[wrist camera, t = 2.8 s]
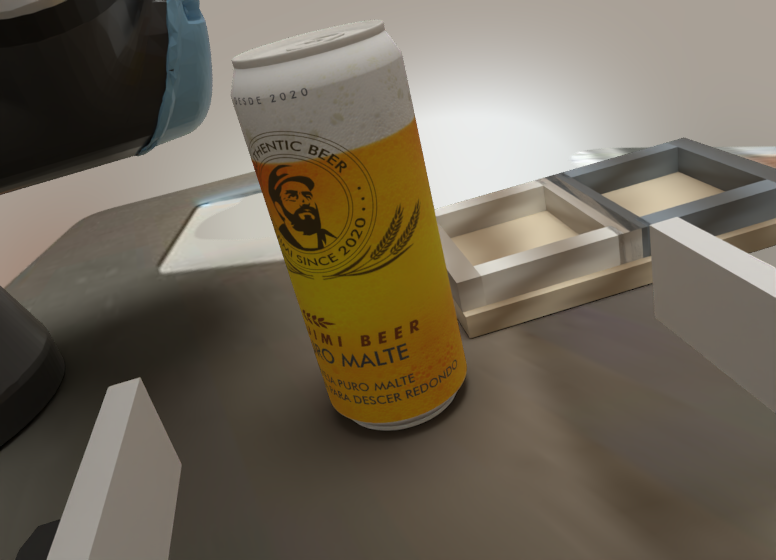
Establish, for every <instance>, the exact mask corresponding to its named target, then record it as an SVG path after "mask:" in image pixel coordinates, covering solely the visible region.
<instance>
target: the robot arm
mask: <svg viewBox="0 0 776 560" xmlns="http://www.w3.org/2000/svg"><path fill="white" fill-rule="evenodd" d="M211 96H212V63H211V52H210V44H209V38H208V31H207V26H206V22H205V20H204V17H203V15H202V13H201V11H200V9H199V0H0V195H2V194H5V193H9V192H12V191H15V190H18V189H22V188H26V187H29V186H32V185H36V184H39V183H43V182H46V181H50V180H53V179H56V178H60V177H63V176H67V175H70V174H73V173H77V172H80V171H84V170H87V169H91V168H94V167H97V166H101V165H104V164H107V163H111V162H114V161H118V160H121V159H125V158H128V157H131V156H140V155H144V154H146V153H148V152H149V151H151V150H152V149H153V148H154V147H155V146H158V145H160V144H163V143H166V142H168V141H171V140H174V139H176V138H179V137H182V136H184V135H187V134H189V133H191V132H192V131H194V130H195V129H196V128H197V127H198V126H199V125H200V124H201V123H202V122H203V120H204V119H205V117H206V115H207V113H208V110H209V106H210V102H211ZM649 226H650V243H651V261H652V278H653V295H654V312H655V318H656V319H657V320H659V321H660V322H661V323H662V324H664V325H665V326H666V327H668V328H669V329H670V330H671V331H673V332H674V333H675V334H676V335H678V336H679V337H680V338H681V339H683V340H684V341H685V342H686V343H688V344H689V345H690V346H691V347H693V348H694V349H695V350H696V351H698V352H699V353H700V354H701V355H703V356H704V357H705V358H707V359H708V360H709V361H710V362H712V363H713V364H714V365H715V366H717V367H718V368H719V369H720V370H722V371H723V372H724V373H725V374H727V375H728V376H729V377H730V378H732V379H733V380H734V381H735V382H737V383H738V384H739V385H740V386H742V387H743V388H744V389H745V390H747V391H748V392H749V393H751V394H752V395H753V396H754V397H756V398H757V399H758V400H759V401H761V402H762V403H763V404H764V405H766V406H767V407H768V408H769V409H771V410H772V411H773V412H774V413H776V268H775V267H773V266H771V265H769V264H767V263H765V262H763V261H761V260H760V259H757V258H756V257H754V256H752V255H750V254H748V253H746V252H744V251H742V250H740V249H738V248H737V247H735V246H733V245H731V244H729V243H727V242H725V241H723V240H721V239H719V238H717V237H715V236H713V235H711V234H710V233H708V232H706V231H704V230H702V229H700V228H698V227H696V226H694V225H692V224H690V223H688V222H686V221H684V220H683V219H681V218H679V217H675V218H671V219H668V220H665V221H661V222H658V223H655V224H651V225H649ZM64 372H65V363H64V359H63V357H62V355H61V354H60V352H59V350H58V348H57V346H56V344H55V342H54V340H53V339H52V337H51V335H50V333H49V331H48V330H47V329H46V328H45V326H44V325H43V324H42V323H41V322H40V321H39V320H37V319H36V318H35V317H34V316H33V315H32V314H31V313H30V312H29V311H28V310H27V309H26V308H24V307H23V306H22V305H21V304H20V303H19V302H18V301H17V300H16V299H14V298H13V297H12V296H11V295H10V294H9V293H8V292H7V291H6V290H5V289H3V288H2V287H1V286H0V446H2V445H3V444H4V443H5V442H7V441H8V440H9V439H11V438H12V437H13V436H14V435H15V434H17V433H18V432H19V431H20V430H21V429H22V428H24V427H25V426H26V425H27V424H28V423H29V422H30V421H31V420H32V419H33V418H34V417H35V416H36V415H37V414H38V413H39V412H40V411H41V410H42V409H43V408H44V407H45V405H46V404H47V403H48V402H49V401H50V399H51V398H52V396H53V395H54V394H55V392H56V391H57V389H58V387H59V385H60V383H61V381H62V379H63V376H64ZM181 466H182V464H181V462H180V460H179V458H178V456H177V454H176V452H175V450H174V447H173V445H172V443H171V441H170V439H169V437H168V435H167V433H166V431H165V428H164V426H163V424H162V422H161V420H160V418H159V416H158V414H157V412H156V409H155V407H154V405H153V403H152V401H151V399H150V397H149V395H148V393H147V391H146V388H145V386H144V384H143V382H142V380H141V378H140V377H139V378H136V379H133V380H129V381H126V382H123V383H119V384H116V385H113V386H109V387H108V389H107V392H106V395H105V398H104V400H103V403H102V406H101V409H100V412H99V414H98V417H97V420H96V423H95V426H94V428H93V431H92V434H91V437H90V440H89V442H88V445H87V448H86V451H85V454H84V456H83V459H82V462H81V465H80V467H79V470H78V473H77V476H76V479H75V481H74V484H73V487H72V490H71V493H70V495H69V498H68V501H67V504H66V507H65V509H64V512H63V515H62V518H61V519H60V520H56V521H53V522H50V523H47V524H44V525H40V526H38V527H37V529H36V530H35V531H34V532H33V533H32V535H31V536H30V537H29V538H28V540H27V541H26V542H25V543H24V545H23V546H22V547H21V548H20V550H19V552H18V554H17V557H16V559H15V560H168V557H169V550H170V543H171V536H172V529H173V522H174V515H175V508H176V501H177V494H178V487H179V480H180V473H181Z"/></svg>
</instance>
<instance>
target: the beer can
mask: <svg viewBox="0 0 776 560" xmlns="http://www.w3.org/2000/svg"><path fill="white" fill-rule="evenodd" d="M232 63H233V66H234V73H233V82H232V90H231V98H232V101H233V104H234V107H235V111H236V114H237V116H238V120H239V123H240V126H241V129H242V132H243V135H244V138H245V141H246V144H247V147H248V150H249V153H250V156H251V160H252V162H253V166H254V169H255V172H256V175H257V178H258V181H259V184H260V187H261V190H262V193H263V196H264V199H265V202H266V205H267V208H268V211H269V215H270V217H271V221H272V224H273V226H274V230H275V233H276V236H277V239H278V242H279V245H280V248H281V251H282V254H283V257H284V260H285V263H286V266H287V270H288V273H289V276H290V279H291V282H292V285H293V288H294V291H295V294H296V297H297V300H298V303H299V306H300V309H301V312H302V315H303V318H304V321H305V324H306V328H307V331H308V334H309V337H310V340H311V343H312V346H313V349H314V352H315V355H316V358H317V361H318V364H319V367H320V370H321V373H322V376H323V379H324V383H325V386H326V389H327V392H328V395H329V398H330V401H331V403H332V405H333V407H334V408H335V409H336V410H337V411H338V412H339V413H340V414H342V415H344V416H345V417H347V418H350V419H352V420H353V421H355V422H356V423H358V424H359V425H361V426H364V427H366V428H370V429H375V430H400V429H405V428H409V427H413V426H416V425H419V424H421V423H424V422H426V421H428V420H430V419H432V418H434V417H435V416H437V415H438V414H440V413H441V412H442V411H443V410H444V409H446V408H447V406H448V405H449V404H450V403H451V402H452V400H453V399H454V397H455V395H456V392H457V391H458V389H459V388H460V386H461V385H462V383H463V381H464V379H465V376H466V372H467V364H466V360H465V355H464V350H463V345H462V340H461V335H460V331H459V326H458V321H457V316H456V311H455V307H454V302H453V297H452V292H451V287H450V282H449V278H448V273H447V268H446V263H445V258H444V254H443V249H442V244H441V239H440V234H439V230H438V225H437V220H436V215H435V210H434V206H433V201H432V196H431V191H430V187H429V182H428V177H427V172H426V167H425V162H424V157H423V152H422V148H421V144H420V138H419V134H418V129H417V124H416V119H415V114H414V109H413V104H412V100H411V95H410V90H409V85H408V80H407V75H406V71H405V66H404V61H403V56H402V52H401V51H400V49H399V48H398V47H397V45H396V44H395V42H394V41H393V40H392V38H391V37H390V36H389V34H388V33H387V31H386V30H385V28H384V23H383V21H382V20H369V21H361V22H356V23H350V24H345V25H340V26H335V27H331V28H326V29H322V30H318V31H313V32H310V33H306V34H302V35H298V36H294V37H291V38H287V39H283V40H280V41H277V42H273V43H270V44H267V45H263V46H261V47H258V48H255V49H252V50H249V51H246V52H244V53H242V54H239V55H237V56H235V57H234V58H233V59H232Z"/></svg>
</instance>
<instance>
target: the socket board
mask: <svg viewBox="0 0 776 560" xmlns="http://www.w3.org/2000/svg"><path fill="white" fill-rule="evenodd" d="M434 210H435V215H436V220H437V225H438V230H439V234H440V239H441V244H442V249H443V254H444V258H445V263H446V268H447V273H448V278H449V282H450V287H451V292H452V297H453V302H454V307H455V311H456V316H457V319H458V320H459V322H460V323H461V325H462V327H463V328H464V330H465V331H466V333H467V334H468V336H469V338H473V337H477V336H480V335H483V334H487V333H490V332H493V331H496V330H500V329H503V328H506V327H509V326H513V325H516V324H519V323H523V322H526V321H529V320H532V319H536V318H539V317H542V316H545V315H549V314H552V313H555V312H559V311H562V310H565V309H568V308H572V307H575V306H578V305H581V304H585V303H588V302H591V301H595V300H598V299H601V298H604V297H608V296H611V295H614V294H618V293H621V292H624V291H627V290H631V289H634V288H637V287H640V286H644V285H647V284H650V283H653V278H652V261H651V243H650V226H649V225H651V224H655V223H658V222H661V221H665V220H668V219H671V218H675V217H679V218H681V219H683V220H684V221H686V222H688V223H690V224H692V225H694V226H696V227H698V228H700V229H702V230H704V231H706V232H708V233H710V234H711V235H713V236H715V237H717V238H719V239H721V240H723V241H725V242H727V243H729V244H731V245H733V246H735V247H737V248H738V249H740V250H742V251H744V252H746V253H748V254H749V253H752V252H755V251H758V250H762V249H765V248H768V247H771V246H775V245H776V169H775V168H772V167H769V166H766V165H763V164H760V163H757V162H755V161H752V160H749V159H746V158H743V157H740V156H737V155H734V154H731V153H728V152H725V151H722V150H719V149H716V148H713V147H710V146H707V145H704V144H701V143H698V142H696V141H693V140H690V139H687V138H681V139H678V140H674V141H671V142H667V143H664V144H660V145H657V146H654V147H650V148H646V149H643V150H639V151H636V152H632V153H629V154H625V155H622V156H618V157H615V158H611V159H608V160H604V161H601V162H597V163H594V164H590V165H587V166H584V167H580V168H577V169H573V170H570V171H566V172H563V173H559V174H556V175H552V176H549V177H545V178H542V179H538V180H535V181H531V182H528V183H524V184H521V185H517V186H514V187H510V188H507V189H503V190H500V191H497V192H493V193H490V194H486V195H483V196H479V197H476V198H472V199H469V200H466V201H462V202H458V203H455V204H451V205H448V206H445V207H441V208H437V209H434Z"/></svg>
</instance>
